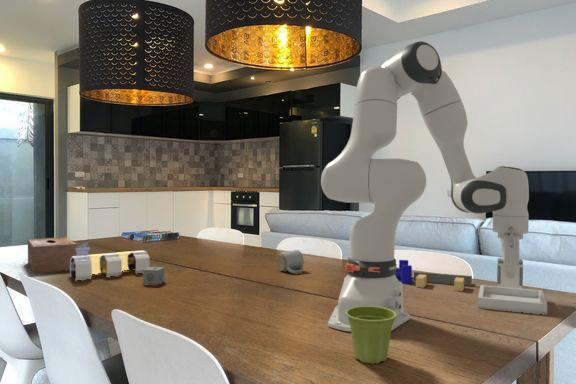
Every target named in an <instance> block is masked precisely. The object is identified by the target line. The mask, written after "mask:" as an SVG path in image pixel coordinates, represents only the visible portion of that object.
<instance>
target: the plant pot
mask: <svg viewBox="0 0 576 384" xmlns="http://www.w3.org/2000/svg"><path fill="white" fill-rule="evenodd" d="M346 315H347V316H348V320H349V323H350V327H351V332H350V333H351V339H352V340H351V341H352V349H353V356H354V358H355V359H356V360H359V361H360V362H361V363H364V364H373V365H375V363H376V364H380V362H385V361H387V360H388V355H389V347H390V340H391V334H392V331H391V329H392V325H393V323H394V319H395V318H396V313H395V312H394V311H392V310H390V309H387V308H382V307H375V306H359V307H353V308H350V309H348V310H347V311H346Z"/></svg>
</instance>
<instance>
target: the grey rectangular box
mask: <svg viewBox="0 0 576 384" xmlns="http://www.w3.org/2000/svg"><path fill="white" fill-rule="evenodd" d="M523 263H524V262H523V259H520V258H519V265H518V266H515V269H514V278H513V279H508V278H507V277H506V265H505V264H504V262H503V257H500V258H499V257H497V264H496V276H497V277H496V283H497V287H508V288H519V289H523V286H524V285H523V284H524V278H523V277H524V266H523V265H524V264H523Z"/></svg>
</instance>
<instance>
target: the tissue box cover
mask: <svg viewBox="0 0 576 384" xmlns="http://www.w3.org/2000/svg"><path fill="white" fill-rule="evenodd" d="M76 248H78V246H77V243H76V242H74V241H73V240H71V238H68V237H66V236H64V237H47V238H33V239H32V238H31V239H30V238H29V239H27V264H28V266H29V267H31V268H30V269H31V271H32V273H33V274H42V273H43V272H44V273H51V272H52V273H54V272H62V271H61V270H65V271H70V259H71V257H72V256H78V255H77V251H76ZM53 271H54V272H53Z"/></svg>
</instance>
